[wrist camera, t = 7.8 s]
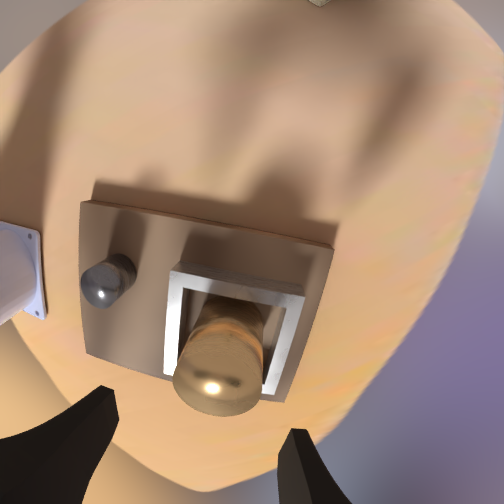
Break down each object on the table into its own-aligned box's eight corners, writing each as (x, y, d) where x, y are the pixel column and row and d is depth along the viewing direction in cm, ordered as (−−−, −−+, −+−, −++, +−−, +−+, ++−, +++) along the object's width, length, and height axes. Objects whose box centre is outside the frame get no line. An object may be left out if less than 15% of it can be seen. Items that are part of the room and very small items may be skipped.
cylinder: (197, 344, 18) (173, 407, 12) (201, 289, 16) (171, 343, 11) (258, 353, 17) (255, 421, 12) (267, 299, 16) (269, 359, 11)
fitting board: (93, 345, 20) (68, 374, 16) (90, 199, 16) (51, 208, 12) (283, 392, 20) (286, 431, 16) (329, 245, 17) (349, 266, 13)
